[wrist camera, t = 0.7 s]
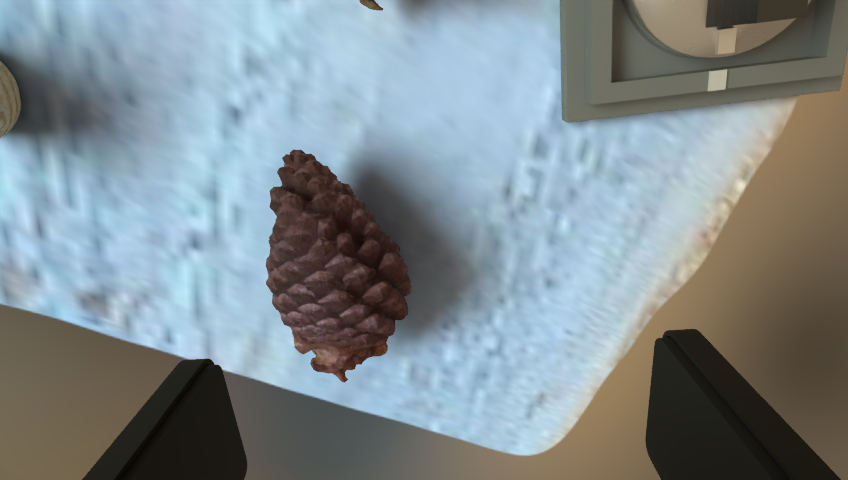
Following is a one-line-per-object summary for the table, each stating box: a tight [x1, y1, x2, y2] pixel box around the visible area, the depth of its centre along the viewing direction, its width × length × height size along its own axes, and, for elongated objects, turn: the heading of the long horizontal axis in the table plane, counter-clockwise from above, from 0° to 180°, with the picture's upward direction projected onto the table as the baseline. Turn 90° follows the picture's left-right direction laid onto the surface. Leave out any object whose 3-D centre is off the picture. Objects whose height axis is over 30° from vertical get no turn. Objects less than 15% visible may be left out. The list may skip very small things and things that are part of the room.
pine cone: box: [266, 150, 411, 382], centre depth 34 cm, size 18×10×10 cm, turn 11°
